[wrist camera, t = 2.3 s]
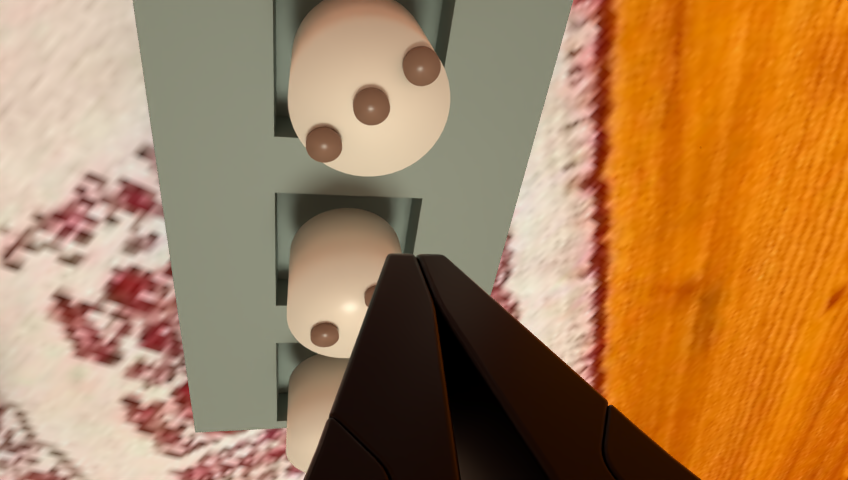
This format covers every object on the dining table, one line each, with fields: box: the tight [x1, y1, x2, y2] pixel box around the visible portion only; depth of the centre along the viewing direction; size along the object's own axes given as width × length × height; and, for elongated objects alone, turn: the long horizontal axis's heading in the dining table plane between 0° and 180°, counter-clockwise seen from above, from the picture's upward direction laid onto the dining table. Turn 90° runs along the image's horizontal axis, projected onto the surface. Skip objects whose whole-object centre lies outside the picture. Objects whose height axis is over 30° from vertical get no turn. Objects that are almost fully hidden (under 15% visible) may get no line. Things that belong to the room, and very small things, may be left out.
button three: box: [288, 0, 450, 176], centre depth 15 cm, size 4×4×3 cm
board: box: [133, 0, 573, 432], centre depth 21 cm, size 12×20×2 cm, turn 172°
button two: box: [287, 208, 402, 358], centre depth 19 cm, size 4×4×3 cm
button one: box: [286, 354, 349, 473], centre depth 23 cm, size 4×4×3 cm
